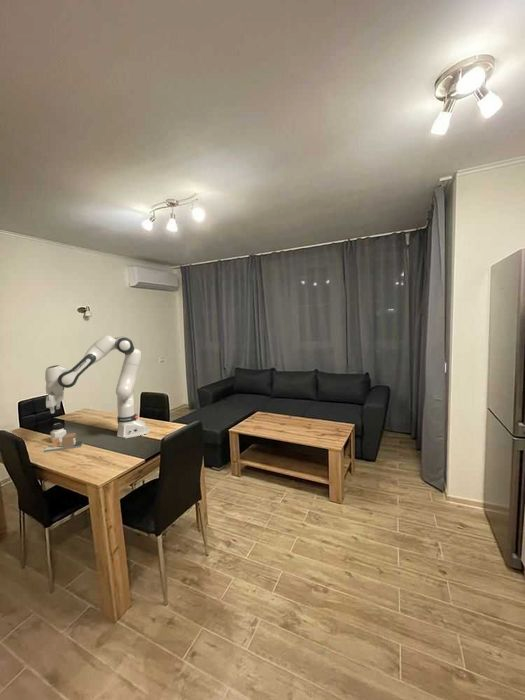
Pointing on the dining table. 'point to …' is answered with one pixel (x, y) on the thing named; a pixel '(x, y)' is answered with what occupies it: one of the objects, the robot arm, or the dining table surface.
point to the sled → (57, 443)
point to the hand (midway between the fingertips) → (55, 410)
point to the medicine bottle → (58, 431)
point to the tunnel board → (66, 443)
